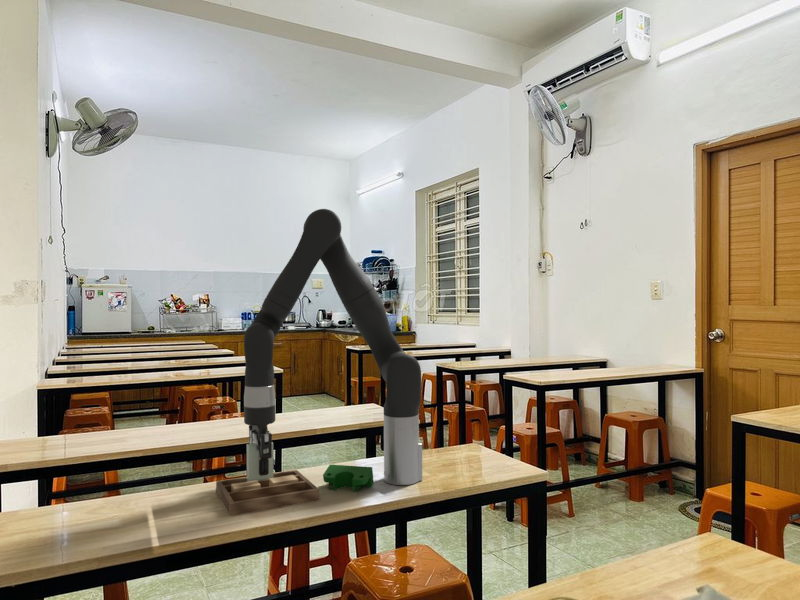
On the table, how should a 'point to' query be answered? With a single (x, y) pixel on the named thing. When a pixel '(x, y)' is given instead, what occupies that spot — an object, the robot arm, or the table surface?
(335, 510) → the table surface
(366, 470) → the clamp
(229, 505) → the brown wooden compartment tray
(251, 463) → the sheet
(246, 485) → the offcut
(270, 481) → the offcut
